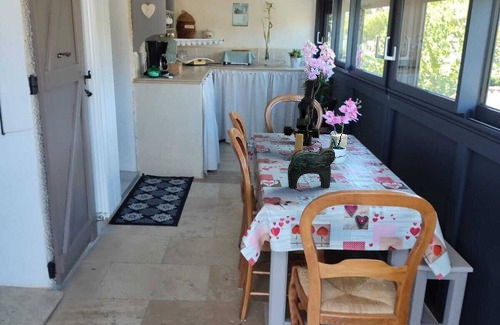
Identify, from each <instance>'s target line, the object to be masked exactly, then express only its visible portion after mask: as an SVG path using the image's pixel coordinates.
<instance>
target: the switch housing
mask: <svg viewBox="0 0 500 325" xmlns="http://www.w3.org/2000/svg"><path fill="white" fill-rule="evenodd" d="M303 149H307V147H306V148H303ZM307 150H308V149H307ZM307 150H302V152H308V151H307ZM294 153H295V149H293V150H291V151H290V152H289V154H288V155H287V157H286V161H290V162H291V160H292V156H293V154H294ZM294 156H295V155H294ZM294 156H293V157H294Z"/></svg>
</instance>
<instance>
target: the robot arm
mask: <svg viewBox="0 0 500 325" xmlns="http://www.w3.org/2000/svg"><path fill="white" fill-rule="evenodd" d="M304 87H305V92H304V96H303V97H302V98H301V100H300V102H299V103H298V104H297V109H298V110H297V111H298V118H296V123H295V124H296V126H295V128H293V126H291V125H284V126H283V134H284V136H285V137H291V136H292V135H293V136H294V138H295V137H296V134H303V146H306V147H310V146H314V145H313V143H314V142H312V141H313V139H320V133H321V132H320V129H319V128H318V127H317V128H316V125H315V121H314V120H313V116H314V115H313V114H314V109H315V98H316V95H317V93H318V92H319V89H320V87H321V81H319V80H318V79H311V78H310V79H309V78H308V79H307V80H304Z"/></svg>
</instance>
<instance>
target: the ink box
mask: <svg viewBox="0 0 500 325" xmlns="http://www.w3.org/2000/svg"><path fill="white" fill-rule="evenodd" d="M335 134H336V135H335ZM335 134H331V135H330V140H329V141H330V142H329V147H330V146H332V147H333V146H334V143H333V140H332V138H334V139H335V141H336V146H337V145H338V143H339V140H340V136H341V134H342V136H341V142H340V146H341V147H343V148H345V149H346V150H347V144H348V137H349V136H348V135H347V134H344V133H335Z"/></svg>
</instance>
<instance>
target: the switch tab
mask: <svg viewBox="0 0 500 325" xmlns="http://www.w3.org/2000/svg"><path fill="white" fill-rule="evenodd" d="M294 138H295V140H294V150H295V152H296V151H298V150H302V149H303V146H304V145H303V134H296V137H294ZM302 151H303V150H302ZM302 151H298V152H297V153H296V154H295V155H297V154H299V153H302Z"/></svg>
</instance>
